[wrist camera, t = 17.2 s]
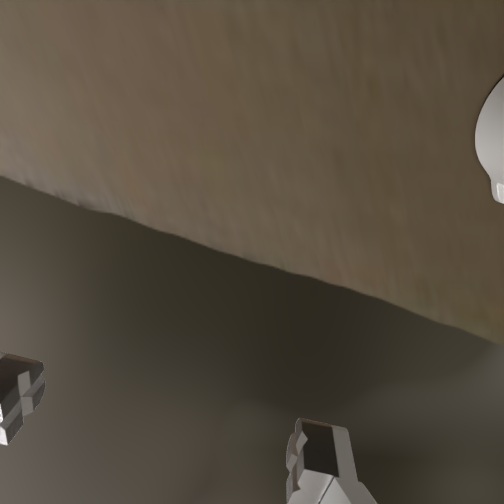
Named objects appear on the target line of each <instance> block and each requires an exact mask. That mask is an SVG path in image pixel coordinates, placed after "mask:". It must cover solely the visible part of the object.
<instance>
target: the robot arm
mask: <svg viewBox="0 0 504 504" xmlns="http://www.w3.org/2000/svg"><path fill="white" fill-rule="evenodd" d="M475 146H476V152H477V155H478V158H479V160H480V163H481V164H482V166H483V167H484V169H485V170H486V172H487V173H488V175H489V176H490V179H491V186H492V194H493V197H494V199H495V200H496V201H497V202H500V203H503V204H504V77H503V78H502V79H501V80H500V82H499V83H498V84H497V85H496V86H495V88H494V89H493V90H492V92H491V93H490V95H489V96H488V98H487V100H486V102H485V104H484V105H483V108H482V110H481V112H480V115H479V118H478V121H477V126H476V132H475ZM43 371H44V365H43V362H40V361H36V360H32V359H28V358H24V357H20V356H16V355H12V354H8V353H3V352H0V444H3V445H8V444H9V443H10V441H11V440H12V439H13V438H14V436H15V435H16V434H17V432H18V431H19V430H20V428H21V427H22V426H23V417H24V416H26V415H28V414H29V413H31V412H33V411H34V410H35V408H36V407H37V406H38V404H39V403H40V401H41V399H42V397H43V394H44V391H45V379H44V378H43V377H42V376H41V373H42V372H43ZM286 465H287V468H288V470H289V472H290V475H289V477H288V479H287V504H377V503H376V501H375V500H374V498H373V497H372V496H371V494H370V493H369V491H368V490H367V489H366V487H365V486H364V485H363V483H361V482H358V480H357V475H356V470H355V465H354V460H353V455H352V449H351V444H350V439H349V434H348V431H347V429H346V428H343V427H338V426H334V425H329V424H326V423H321V422H316V421H312V420H307V419H302V418H299V419H298V420H297V422H296V425H295V433H293V434H291V437H290V439H289V443H288V448H287V457H286Z"/></svg>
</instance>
